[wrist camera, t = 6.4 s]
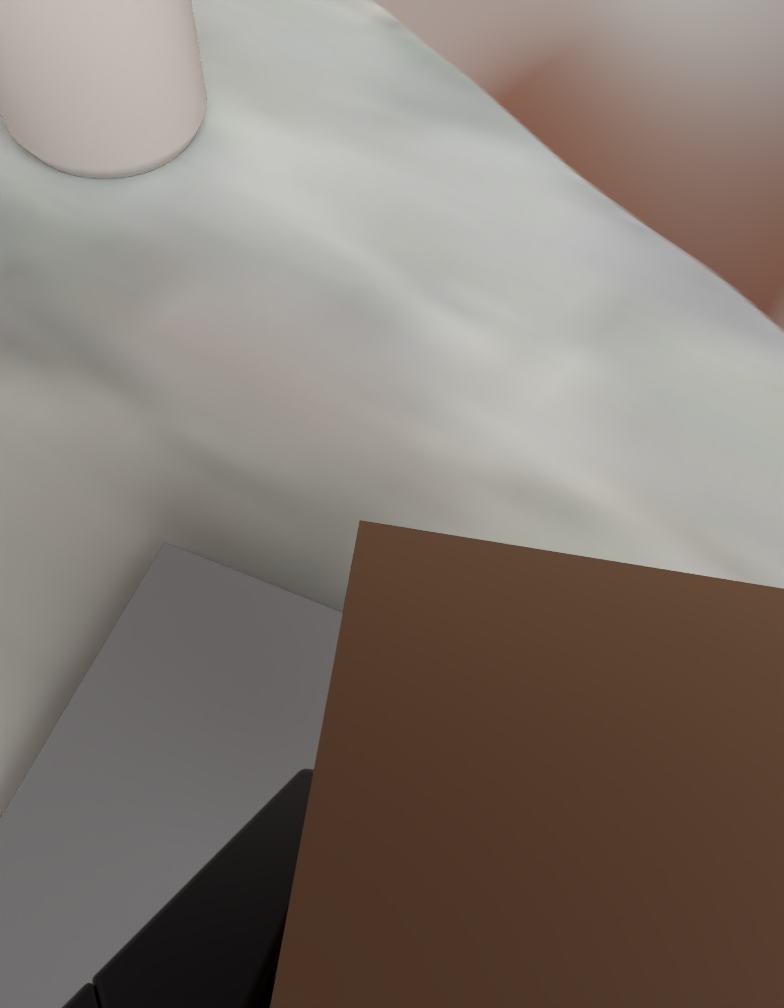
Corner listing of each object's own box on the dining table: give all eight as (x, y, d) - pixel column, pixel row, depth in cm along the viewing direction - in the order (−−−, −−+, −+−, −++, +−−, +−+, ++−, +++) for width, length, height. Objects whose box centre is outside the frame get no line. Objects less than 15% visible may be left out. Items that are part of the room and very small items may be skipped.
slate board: (-119, 1055, 17) (-149, 1067, 16) (172, 557, 24) (164, 542, 22) (697, 1467, 15) (725, 1512, 14) (777, 798, 21) (800, 794, 20)
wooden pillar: (527, 1084, 12) (2147, 2779, 1) (298, 1046, 12) (10, 2418, 1) (539, 831, 14) (1252, 664, 3) (338, 799, 14) (360, 521, 3)
